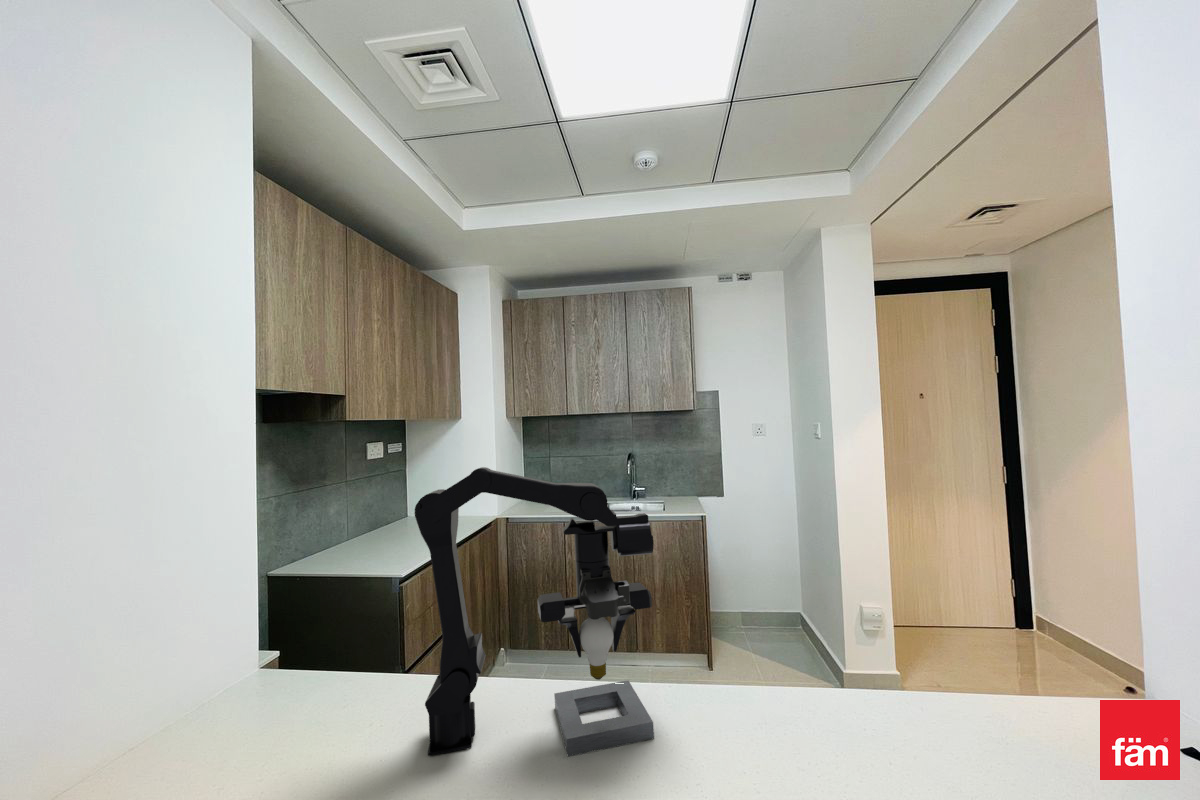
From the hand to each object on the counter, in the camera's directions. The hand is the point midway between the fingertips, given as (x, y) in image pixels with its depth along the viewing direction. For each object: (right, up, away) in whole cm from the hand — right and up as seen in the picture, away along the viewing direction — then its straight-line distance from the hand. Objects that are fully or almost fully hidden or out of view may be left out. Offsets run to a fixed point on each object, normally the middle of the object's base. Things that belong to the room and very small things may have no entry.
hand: (597, 653), depth 81 cm
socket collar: (+1, -11, -1) cm, 11 cm away
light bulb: (0, -4, 0) cm, 4 cm away
